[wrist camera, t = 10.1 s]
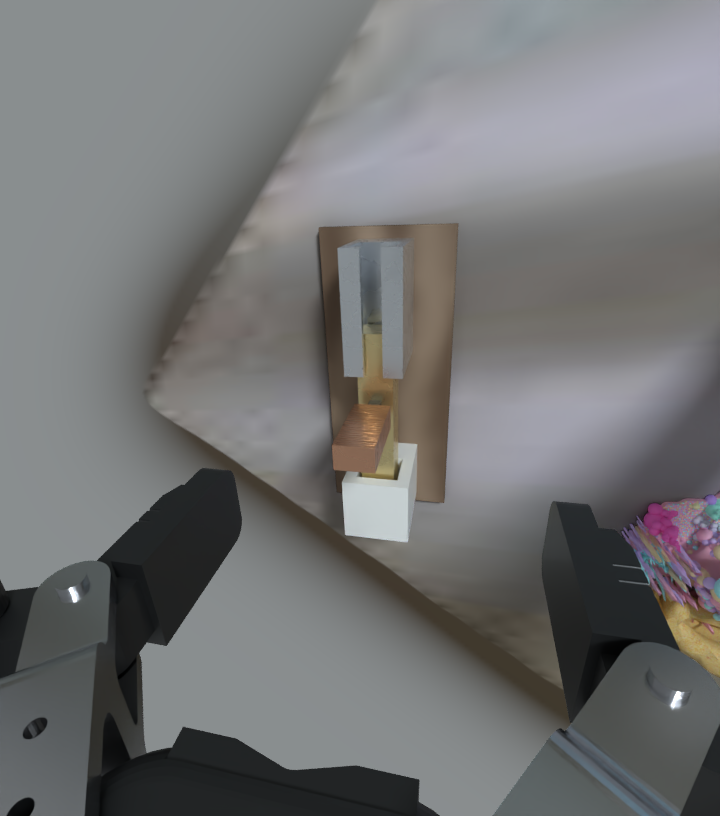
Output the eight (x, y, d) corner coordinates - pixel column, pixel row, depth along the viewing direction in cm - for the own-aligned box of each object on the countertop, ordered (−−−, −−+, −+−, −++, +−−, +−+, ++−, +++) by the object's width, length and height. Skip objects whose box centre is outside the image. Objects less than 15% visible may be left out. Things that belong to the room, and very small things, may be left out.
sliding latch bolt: (398, 324, 39) (373, 371, 28) (398, 491, 46) (378, 576, 36) (362, 323, 39) (325, 369, 29) (368, 488, 46) (340, 571, 36)
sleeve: (414, 237, 39) (403, 246, 32) (412, 350, 43) (402, 379, 36) (359, 239, 40) (337, 247, 33) (362, 349, 44) (344, 376, 37)
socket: (417, 444, 47) (408, 488, 40) (416, 492, 50) (407, 542, 42) (360, 440, 48) (341, 482, 41) (362, 487, 51) (345, 534, 44)
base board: (458, 223, 38) (458, 224, 38) (444, 497, 50) (444, 502, 49) (321, 227, 41) (318, 227, 40) (339, 487, 53) (336, 492, 52)
